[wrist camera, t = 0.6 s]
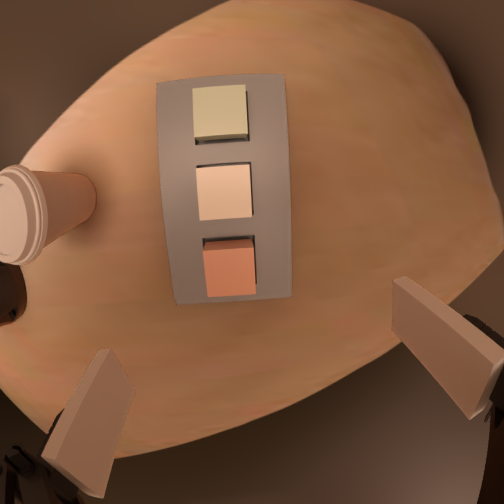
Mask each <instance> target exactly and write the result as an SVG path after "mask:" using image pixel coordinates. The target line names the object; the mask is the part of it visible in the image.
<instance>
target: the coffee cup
mask: <svg viewBox="0 0 504 504" xmlns="http://www.w3.org/2000/svg"><path fill="white" fill-rule="evenodd" d="M95 205H96V191H95V188H94V186H93V184H92V182H91V181H90V180H89V179H88V178H87V177H86V176H84V175H80V174H70V173H58V172H44V171H30V170H29V169H28V168H26V167H24V166H21V165H12V166H9V167H7V168H5V169H3V170H2V171H0V261H1V262H4V263H9V264H13V265H25V264H28V263H31V262H32V261H34V260H35V259H36V258H37V257H38V255H39V254H40V252H41V251H42V249H43V248H44V247H45V246H47V245H48V244H50V243H51V242H53V241H54V240H56V239H57V238H59V237H60V236H62V235H63V234H65V233H66V232H68V231H69V230H71V229H72V228H74V227H76V226H77V225H79V224H81V223H82V222H84V221H85V220H87V219H88V218H89V217H90V216H91V215H92V213H93V211H94V209H95Z"/></svg>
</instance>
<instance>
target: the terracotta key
mask: <svg viewBox="0 0 504 504" xmlns="http://www.w3.org/2000/svg"><path fill="white" fill-rule="evenodd" d="M203 259H204V269H205V277H206V286H207V294H208V297H220V296H235V295H250V294H256V284H255V264H254V247H253V243H252V240H251V239H242V240H227V241H213V242H206V243H205V246H204V248H203Z"/></svg>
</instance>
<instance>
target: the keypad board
mask: <svg viewBox="0 0 504 504" xmlns="http://www.w3.org/2000/svg"><path fill="white" fill-rule="evenodd" d="M227 85H245V89H246V108H247V127H248V134H247V137H246V138H233V139H218V140H206V141H198V140H197V139H195V138H194V124H193V91H192V89H193V88H202V87H213V86H227ZM157 138H158V159H159V174H160V187H161V198H162V209H163V218H164V227H165V236H166V243H167V251H168V258H169V265H170V272H171V278H172V285H173V291H174V297H175V302H176V305H181V304H202V303H220V302H236V301H250V300H263V299H275V298H286V297H292V237H291V194H290V167H289V145H288V127H287V111H286V96H285V83H284V74H238V75H220V76H208V77H198V78H189V79H181V80H174V81H168V82H162V83H157ZM232 165H250V185H251V204H252V217H245V218H230V219H215V220H202V221H200V218H199V206H198V193H197V179H196V168H205V167H218V166H232ZM242 239H251V240H252V243H253V247H254V264H255V284H256V294H250V295H235V296H220V297H208V294H207V286H206V277H205V269H204V259H203V248H204V246H205V243H206V242H213V241H227V240H242Z"/></svg>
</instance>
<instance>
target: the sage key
mask: <svg viewBox="0 0 504 504" xmlns="http://www.w3.org/2000/svg"><path fill="white" fill-rule="evenodd" d="M192 91H193V124H194V138H195V139H197V140H198V141H206V140H218V139H233V138H246V137H247V134H248V127H247V108H246V89H245V85H227V86H213V87H202V88H193V89H192Z"/></svg>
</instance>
